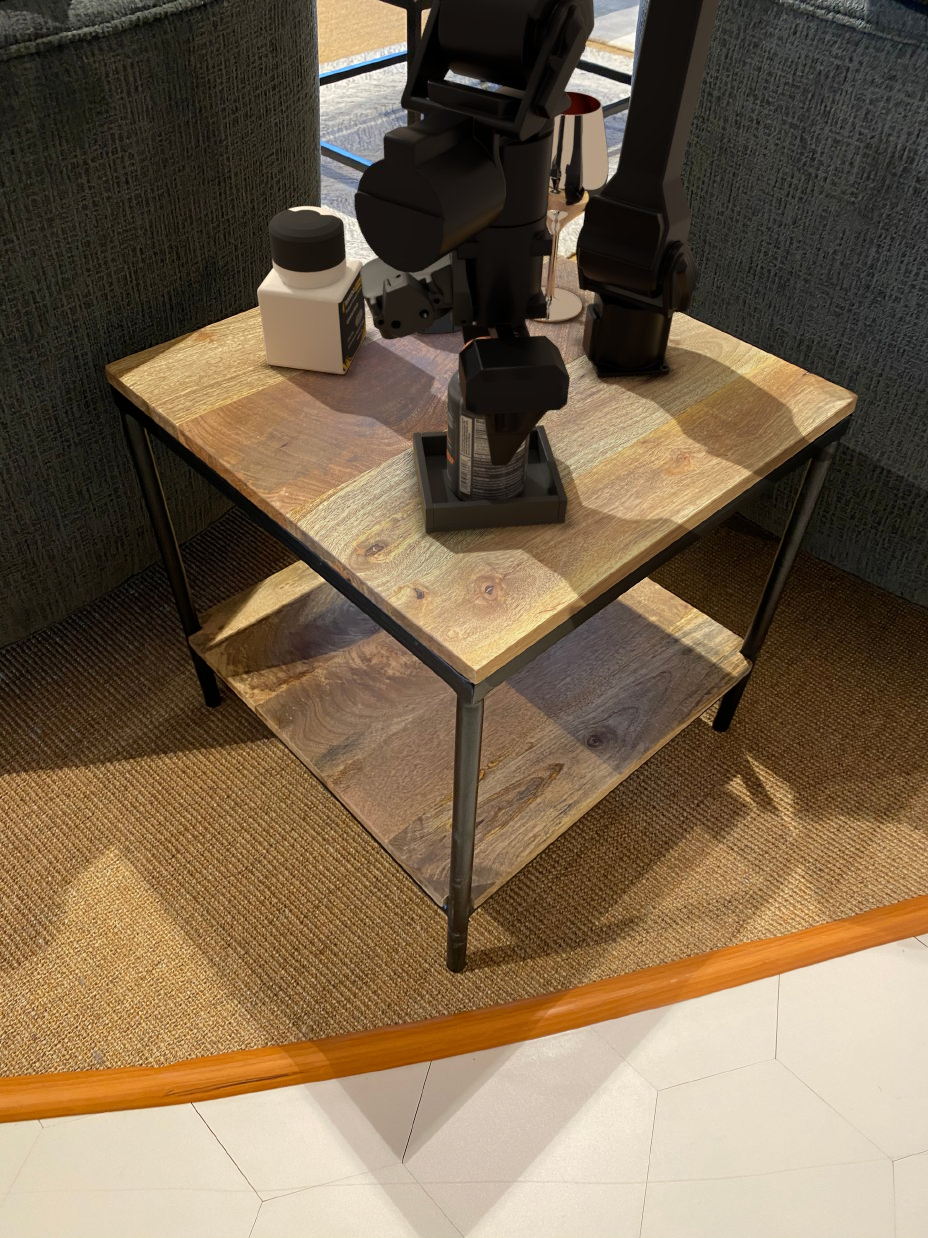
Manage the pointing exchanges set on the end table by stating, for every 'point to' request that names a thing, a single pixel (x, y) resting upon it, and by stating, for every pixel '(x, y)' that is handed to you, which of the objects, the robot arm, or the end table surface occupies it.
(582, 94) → the wineglass
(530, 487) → the tray
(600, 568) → the end table surface
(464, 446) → the pill bottle
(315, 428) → the end table surface
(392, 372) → the end table surface
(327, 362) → the medicine bottle
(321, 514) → the end table surface
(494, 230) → the robot arm
